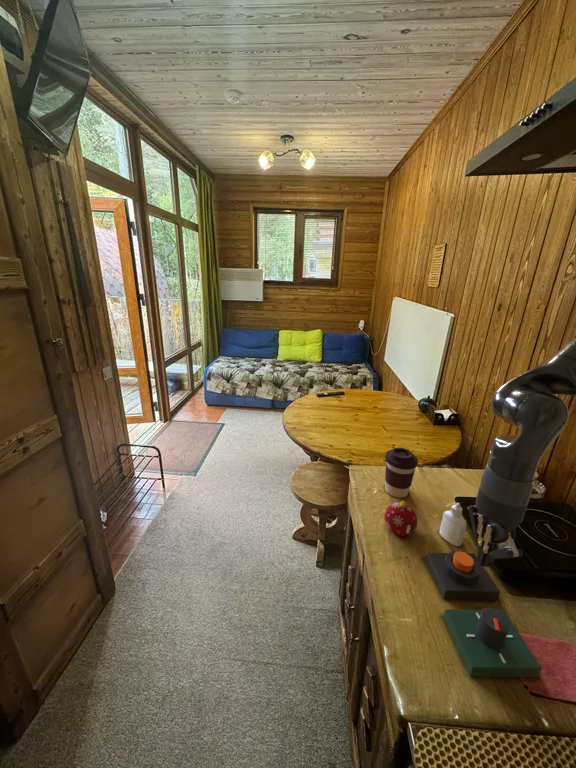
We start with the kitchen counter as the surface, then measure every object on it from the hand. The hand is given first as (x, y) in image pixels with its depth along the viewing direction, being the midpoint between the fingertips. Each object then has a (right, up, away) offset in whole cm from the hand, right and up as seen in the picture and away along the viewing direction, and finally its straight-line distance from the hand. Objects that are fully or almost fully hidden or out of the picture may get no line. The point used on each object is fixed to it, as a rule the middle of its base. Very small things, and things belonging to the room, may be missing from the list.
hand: (483, 563), depth 62 cm
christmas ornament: (-8, -5, +25) cm, 27 cm away
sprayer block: (+1, -10, +10) cm, 14 cm away
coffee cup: (-3, 0, +41) cm, 41 cm away
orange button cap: (+1, -6, +9) cm, 11 cm away
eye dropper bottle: (+5, -7, +22) cm, 23 cm away
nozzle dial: (-1, -12, -4) cm, 12 cm away
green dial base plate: (-1, -14, -3) cm, 15 cm away
